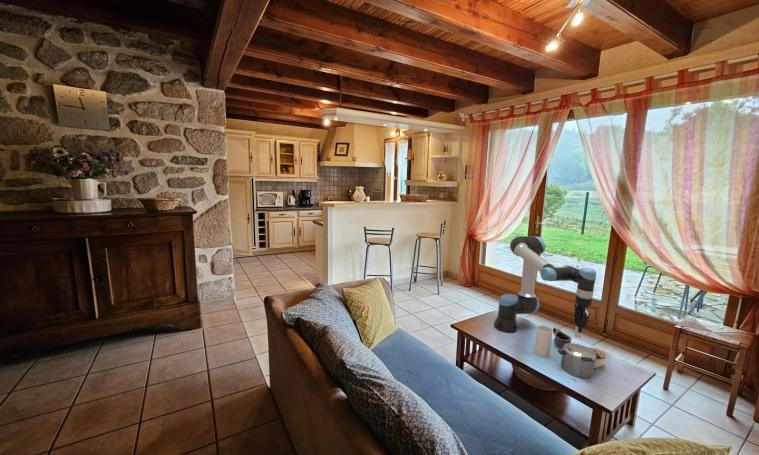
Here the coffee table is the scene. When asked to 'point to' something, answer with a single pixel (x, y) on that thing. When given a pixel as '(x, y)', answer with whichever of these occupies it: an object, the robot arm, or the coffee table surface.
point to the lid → (580, 352)
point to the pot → (577, 365)
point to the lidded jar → (598, 361)
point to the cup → (543, 341)
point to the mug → (561, 337)
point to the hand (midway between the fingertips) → (577, 337)
